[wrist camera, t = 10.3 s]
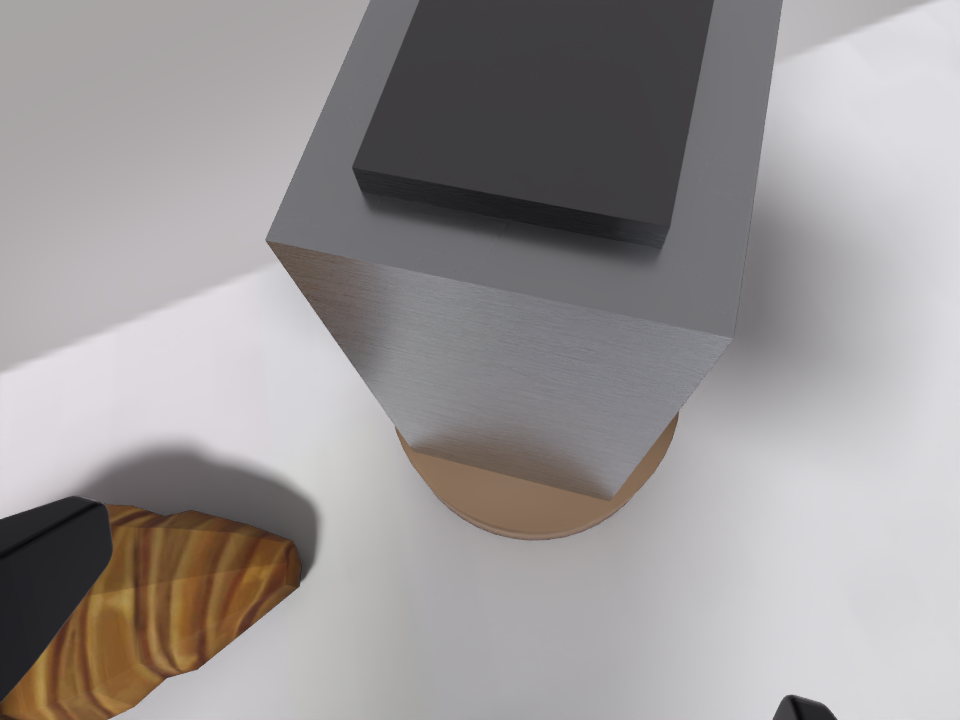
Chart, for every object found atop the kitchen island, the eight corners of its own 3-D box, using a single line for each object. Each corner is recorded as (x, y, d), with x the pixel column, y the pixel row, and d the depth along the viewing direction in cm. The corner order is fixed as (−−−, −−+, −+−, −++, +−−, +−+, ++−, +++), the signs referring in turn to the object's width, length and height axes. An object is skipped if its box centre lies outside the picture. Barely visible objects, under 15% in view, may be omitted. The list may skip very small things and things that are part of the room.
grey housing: (609, 501, 19) (747, 319, 7) (413, 451, 20) (250, 217, 8) (646, 318, 21) (799, -57, 9) (466, 280, 22) (396, -105, 10)
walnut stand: (668, 545, 21) (690, 535, 18) (395, 534, 22) (376, 523, 19) (654, 297, 24) (671, 256, 21) (416, 294, 25) (403, 254, 22)
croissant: (-97, 773, 20) (-280, 820, 16) (-73, 554, 23) (-226, 539, 18) (324, 678, 21) (265, 697, 16) (302, 471, 23) (246, 436, 18)
